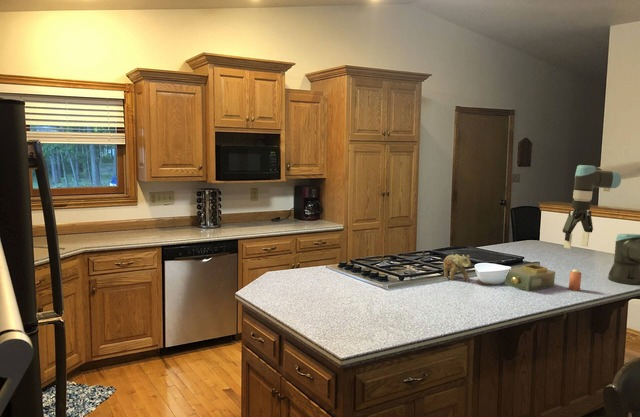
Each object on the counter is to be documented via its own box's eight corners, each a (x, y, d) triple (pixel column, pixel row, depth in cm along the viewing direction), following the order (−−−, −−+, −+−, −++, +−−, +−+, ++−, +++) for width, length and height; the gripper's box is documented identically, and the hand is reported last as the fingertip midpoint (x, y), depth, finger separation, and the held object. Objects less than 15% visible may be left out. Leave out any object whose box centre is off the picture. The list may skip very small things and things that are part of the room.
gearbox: (530, 279, 257) (531, 262, 255) (554, 286, 245) (556, 268, 244) (501, 284, 246) (503, 267, 245) (526, 292, 235) (527, 273, 234)
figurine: (451, 290, 249) (455, 259, 242) (436, 274, 263) (439, 244, 256) (471, 287, 251) (475, 256, 245) (455, 272, 265) (459, 242, 259)
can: (572, 287, 244) (574, 268, 243) (582, 290, 240) (583, 270, 239) (566, 289, 242) (568, 269, 241) (575, 291, 238) (577, 272, 237)
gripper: (589, 198, 246) (583, 243, 249) (557, 199, 232) (551, 247, 235) (605, 200, 240) (599, 246, 243) (573, 201, 226) (567, 250, 229)
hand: (575, 247), depth 239 cm, fingers open, 13 cm apart
